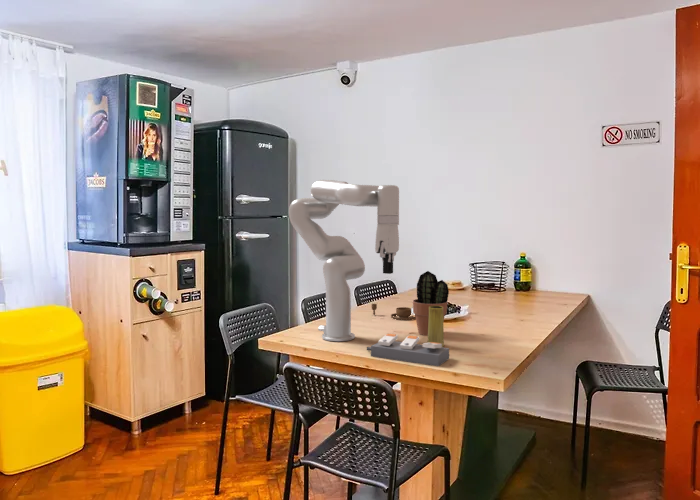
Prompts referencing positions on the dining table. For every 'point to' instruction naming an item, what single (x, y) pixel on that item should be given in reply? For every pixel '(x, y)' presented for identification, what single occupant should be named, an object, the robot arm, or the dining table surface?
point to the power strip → (411, 353)
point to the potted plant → (429, 299)
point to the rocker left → (387, 339)
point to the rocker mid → (409, 342)
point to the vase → (436, 325)
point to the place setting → (398, 313)
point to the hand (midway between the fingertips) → (388, 273)
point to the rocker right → (432, 345)
